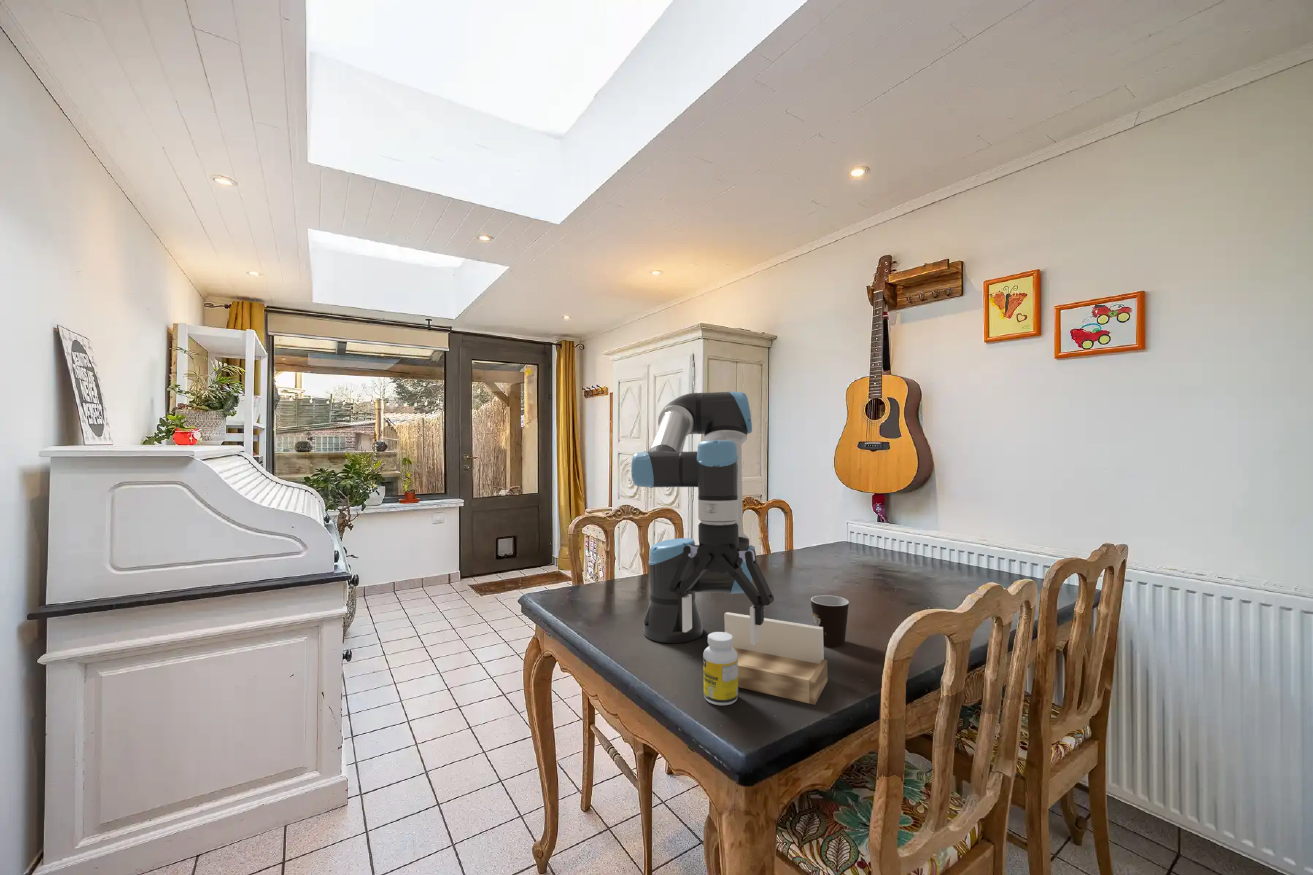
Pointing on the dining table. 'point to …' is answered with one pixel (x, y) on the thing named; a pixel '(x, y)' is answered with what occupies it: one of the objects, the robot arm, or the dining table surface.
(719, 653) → the pill bottle
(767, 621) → the wall board
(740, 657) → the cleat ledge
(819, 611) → the coffee mug
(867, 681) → the dining table surface
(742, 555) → the robot arm
